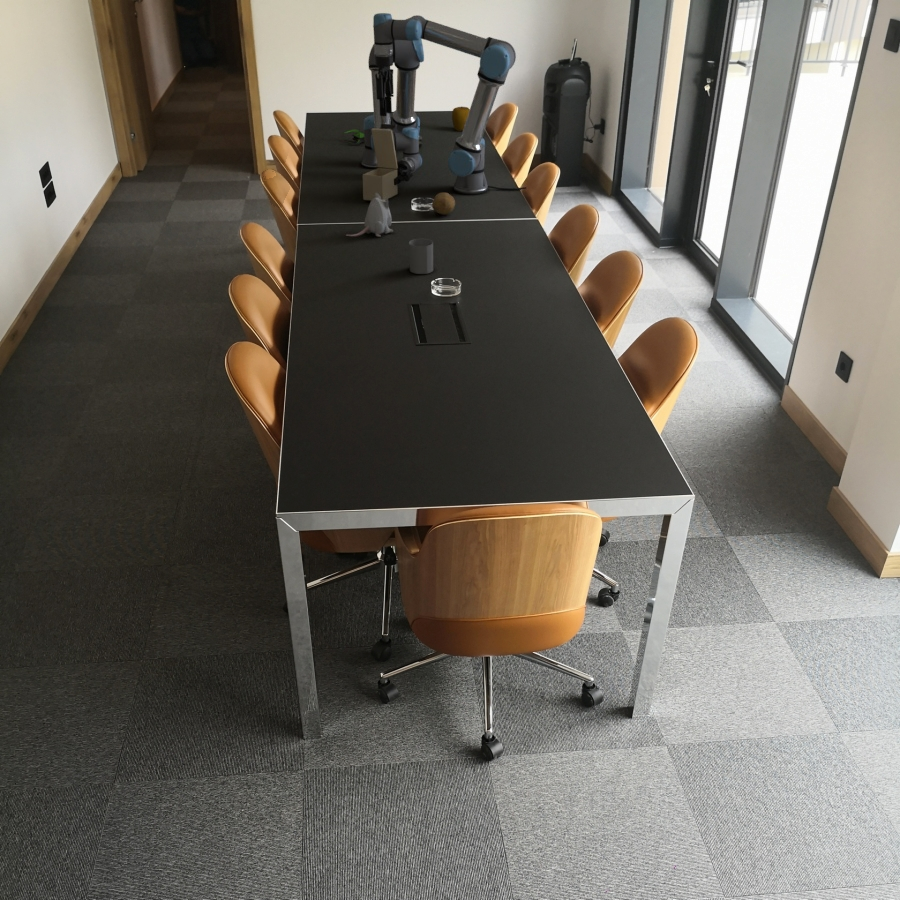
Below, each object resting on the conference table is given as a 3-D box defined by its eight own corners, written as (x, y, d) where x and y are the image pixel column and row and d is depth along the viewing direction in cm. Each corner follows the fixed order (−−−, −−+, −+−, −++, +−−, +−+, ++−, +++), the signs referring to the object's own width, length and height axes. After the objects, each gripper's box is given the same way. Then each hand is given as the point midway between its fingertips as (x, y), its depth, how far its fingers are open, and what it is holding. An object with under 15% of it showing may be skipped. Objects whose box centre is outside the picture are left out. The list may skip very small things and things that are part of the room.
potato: (453, 208, 369) (453, 189, 365) (456, 218, 357) (456, 199, 353) (431, 208, 368) (430, 189, 364) (432, 218, 356) (432, 199, 352)
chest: (382, 201, 373) (382, 176, 368) (363, 199, 375) (362, 174, 370) (397, 194, 387) (397, 169, 382) (378, 192, 389) (378, 167, 384)
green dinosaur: (399, 126, 467) (343, 124, 465) (399, 141, 460) (342, 139, 458) (399, 136, 472) (343, 133, 470) (399, 151, 465) (342, 149, 463)
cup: (409, 265, 311) (408, 238, 306) (432, 265, 312) (431, 238, 307) (410, 274, 304) (409, 246, 299) (433, 273, 305) (433, 246, 299)
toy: (398, 232, 342) (397, 194, 334) (353, 246, 328) (351, 207, 320) (383, 227, 348) (381, 189, 340) (338, 241, 333) (335, 202, 325)
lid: (391, 131, 368) (398, 120, 373) (371, 129, 370) (378, 119, 376) (397, 168, 381) (404, 158, 386) (377, 167, 384) (385, 156, 389)
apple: (471, 132, 486) (471, 108, 479) (451, 132, 486) (451, 108, 479) (470, 128, 495) (471, 104, 488) (452, 128, 495) (452, 104, 488)
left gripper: (381, 157, 401) (361, 170, 383) (425, 162, 394) (407, 174, 377) (382, 174, 405) (362, 187, 387) (425, 178, 399) (407, 192, 381)
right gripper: (384, 51, 366) (386, 109, 379) (366, 57, 352) (369, 118, 365) (400, 52, 364) (402, 110, 377) (383, 58, 350) (385, 119, 363)
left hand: (384, 181), depth 382 cm, fingers closed on chest, 9 cm apart
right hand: (385, 114), depth 371 cm, fingers open, 5 cm apart
